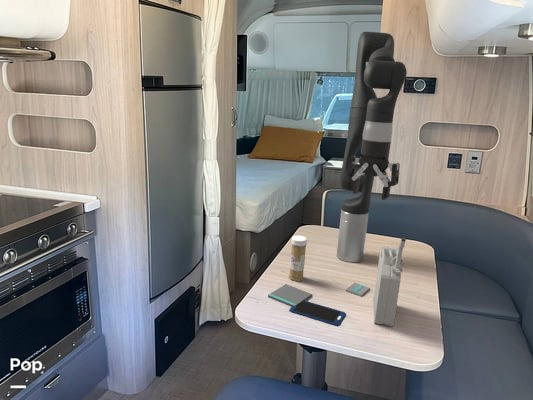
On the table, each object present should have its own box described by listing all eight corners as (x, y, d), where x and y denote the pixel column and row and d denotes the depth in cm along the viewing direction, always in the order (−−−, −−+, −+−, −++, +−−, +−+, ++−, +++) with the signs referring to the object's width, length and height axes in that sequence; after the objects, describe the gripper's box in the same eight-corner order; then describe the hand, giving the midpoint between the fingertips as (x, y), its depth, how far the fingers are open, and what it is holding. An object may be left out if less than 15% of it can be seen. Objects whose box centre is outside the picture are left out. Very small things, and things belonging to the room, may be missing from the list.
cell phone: (338, 328, 110) (338, 325, 110) (288, 312, 116) (288, 310, 116) (346, 315, 116) (346, 312, 116) (298, 300, 122) (298, 298, 122)
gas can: (394, 333, 109) (409, 239, 102) (374, 329, 110) (387, 237, 103) (391, 303, 123) (404, 220, 116) (373, 300, 124) (384, 217, 117)
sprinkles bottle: (285, 278, 135) (288, 237, 131) (294, 273, 138) (297, 233, 134) (298, 283, 132) (301, 241, 128) (306, 278, 136) (310, 237, 132)
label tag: (354, 284, 133) (354, 282, 133) (369, 289, 131) (369, 287, 130) (345, 290, 129) (345, 289, 129) (361, 296, 126) (361, 294, 126)
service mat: (285, 285, 130) (285, 283, 130) (311, 295, 125) (311, 293, 125) (267, 296, 123) (268, 294, 123) (294, 307, 118) (294, 305, 118)
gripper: (407, 140, 116) (399, 199, 121) (358, 134, 124) (352, 189, 129) (397, 143, 110) (388, 204, 115) (346, 136, 118) (340, 193, 123)
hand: (369, 196), depth 122 cm, fingers open, 8 cm apart
